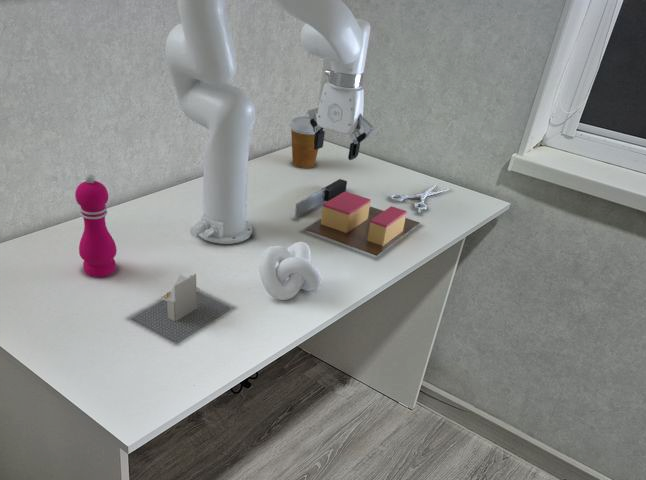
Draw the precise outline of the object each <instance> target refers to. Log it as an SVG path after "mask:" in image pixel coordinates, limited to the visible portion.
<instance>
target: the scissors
mask: <svg viewBox="0 0 646 480" xmlns="http://www.w3.org/2000/svg"><path fill="white" fill-rule="evenodd" d="M437 186H438V184H435V185H434V186H431V188H429V189H427V190H426V191H424V192H422V193H417V194H406V195H404V194H391V195H390V196H389V199H391V200H394V201H397V202H404V200H405V199H420V202H414V203H413V207H414V208H416V209H418V210H417V212H418V213H421V212H422V211H421V210H427V204H426V203H425V199H426V198H427V197H430V196H433V195H436V194H437V195H438V194H440V193H443V192H446V191H449V190H450V188H447V189H442V190H438V191H433V190H434V189H435V188H436V187H437Z"/></svg>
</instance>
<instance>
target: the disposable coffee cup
mask: <svg viewBox="0 0 646 480" xmlns="http://www.w3.org/2000/svg"><path fill="white" fill-rule="evenodd" d="M289 127H290V131H291V155H292V156H291V157H292V166H295V167H297V168H299V169H310V168H314V167H315V165H316V161H317V157H318V154H319V153H318V152H319V149H317V150H315V149H314V137H315V132H314V131H313V127H312V125H311V123H310V118H309V116H296V117H293V118H292V119H291V122H290V123H289ZM323 131H325V128H324V129H323Z"/></svg>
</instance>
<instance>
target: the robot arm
mask: <svg viewBox="0 0 646 480" xmlns="http://www.w3.org/2000/svg"><path fill="white" fill-rule="evenodd" d="M226 2H227V1H226V0H177V9H178V13H179V18H180V23H178V24H176V25H175V26H174V27H172V28H171V30H170V32H169V33H168V35H167V39H166V41H165V52H164V53H165V60H166V64H167V65H166V66H167V68H168V71H169V74H170V77H171V81H172V85H173V88H174V92H175V94H176V97H177V101H178V103H179V106H180V109H181V111H182V112H183V114H184V116H186V117H187V118H188V119H189V120H190V121H192V122H194V123H195V124H197V125H199V126H202V127H204V128H206V129H207V130H209V136H208V138H207V140H206V143H205V146H204V149H203V154H202V155H203V157H202V158H203V159H202V163H203V165H202V166H203V167H202V168H203V170H202V171H203V175H202V176H203V178H202V179H203V182H202V183H203V184H202V185H203V186H202V187H203V189H202V190H203V191H202V193H203V205H202V206H203V209H202V210H203V213H202V214H203V215H201V216H200V220H199V222H198V223H197V224H196V225H195V226H193V227H191V228H190V229H189V233H190V235H191V236H192V237H197V236H199V237H200V238H201V239H202V240H205V241H207V242H209V243H213V244H219V245H231V244H233V245H234V244H238V243H242V242H244V241H247V240H248V239H250V237H251V236H252V233H253V226H252V224H251V223H250V222H249V221H248V220H247V207H248V205H247V203H248V202H247V201H248V185H249V184H248V183H249V182H248V181H249V180H248V179H249V157H250V143H251V138H252V132H253V130H254V124H255V122H256V121H255V120H256V107H255V103H254V101H253V99H252V97H250V96H249V95H250V94H248V93H247V92H246V91H244V90H243V89H241V88H239V87H238V86H236V85H235V86H234V85H232V84H229V82H230V81H231V80H232V79H233V78H234V77H235V75H236V72H237V68H238V58H237V52H236V46H235V42H234V38H233V33H232V30H231V25H230V21H229V16H228V11H227V5H226ZM274 2H275V3H276V5H277V6H278V7H279V8H280V9H282V10H283V11H284V12H286V13H287V14H288V15H290V16H291V17H293V18H295V19H297V20H300V21H301V22H303V23H305V24H304V25H303V26H302V29H301V31H300V43H301V46H302V48H303V49H304V50H305V51H306V52H307V53H308V54H310V55H312V56H315V57H318V58H320V59H321V58H322V59H326V60H329V61H331V62H330V69H326V70H325V73H324V74H325V76H326V77H328V81H326V82H325V83H324V85H323V89H322V91H321V95H320V99H319V102H318V103H319V104H318V107H314V108H312V109H309V110H308V111H307V115H308V117H309V118H310V123H311V125H312V127H313V131H314V132H315V137H314V149H315V150H317V149H318V150H319V149H322V148H323V147H324V142H325V135H326V134H325V133H326V131H325V130H329V131H332V132H336V133H339V134H343V135H348V136H349V137H350V139H351V141H352V142H351V143H350V144H349V149H348V150H349V152H348V157H347V159H348V160H349V161H353V160H355V159H356V158H357V157H358V156H359V154H360V147H361V143H362V142H363V141H364V140H366V139H367V138H368V137H369V135H370V134H371V133H372V132H373V130H374V126H373V125H372V124H371V122H370V121H368V120H367V119H366V117H364V106H365V92H364V87H362V85H363V79H364V72H365V65H366V60H367V54H368V47H369V41H370V34H371V24H370V23H369V22H368V21H367V20H365V19H362V18H358V17H355V15H354V14H353V12H352V11H351V10H350V8H349V7H348V6H347V5H346V3H345V2H344V1H342V0H274ZM361 128H363V129H364V130H363V132H362V133H361ZM323 129H324V130H323Z"/></svg>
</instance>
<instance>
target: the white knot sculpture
mask: <svg viewBox="0 0 646 480" xmlns="http://www.w3.org/2000/svg"><path fill="white" fill-rule="evenodd" d="M311 256H312V251H311V248H310V246H309V244H308V243H306V242H304V241H297V242H294V243H293V244H291V245H290V246H289V247H287V248H285V247H282V246H280V245H273V246H270V247H268V248H267V249H265V251H264V252H263V253H262V255H261V258H260V260H259V261H260V262H259V275H260V276H259V277H260V280H261V283H262V285H263V287H264V289H265V291H266V292H267V293H268V294H269V295H270V296H271V297H273V298H274V299H276V300H280V301H287V300H290V299H292V298H294V297H295V296H296V295H297V294H298V293H299V291H300V290H303V291H305V292H313V291H316V290H318V289H319V287H321V283H322V275H321V273H320V271H319V269H318V267H317V266H316V265H315V264H313V262H311V258H312V257H311Z"/></svg>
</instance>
